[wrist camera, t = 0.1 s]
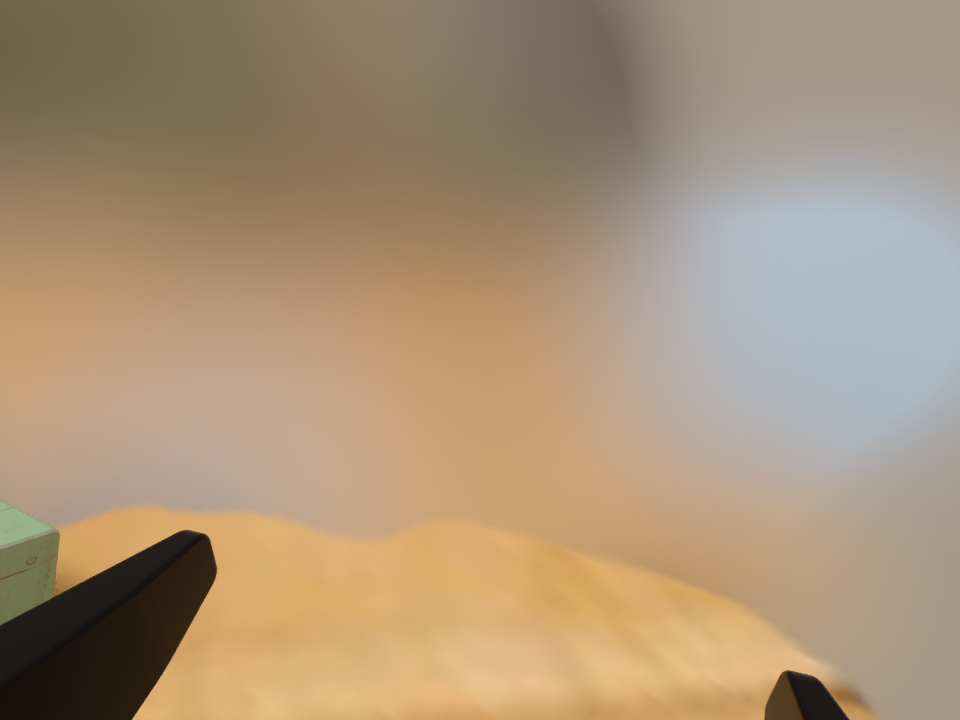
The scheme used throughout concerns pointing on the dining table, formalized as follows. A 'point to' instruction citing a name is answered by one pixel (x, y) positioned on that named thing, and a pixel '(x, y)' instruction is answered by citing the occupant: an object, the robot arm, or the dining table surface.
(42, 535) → the ray gun
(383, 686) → the dining table surface
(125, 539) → the dining table surface
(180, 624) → the robot arm
